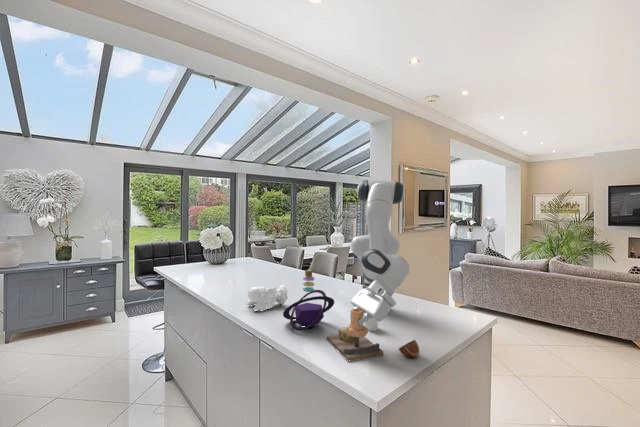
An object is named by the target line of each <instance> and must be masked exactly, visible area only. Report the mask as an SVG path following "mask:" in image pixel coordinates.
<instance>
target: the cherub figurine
mask: <svg viewBox="0 0 640 427" xmlns="http://www.w3.org/2000/svg"><path fill="white" fill-rule="evenodd" d="M247 297H248V299H249V301H248V302H247V303H246V306H247V305H252V306H253V305H254V304H256V305H255V306H253V309H252V311H253V310H264V309H269V310H270V308H271V309H272V308H273V306H275V303H278V304H280V305H281V304H282V305H284V304H285V303H286V301H287V300H288V290H287V287H286V286H285V285H284V284H281V285H280V286H279V287H278V288H276V286H272V287H268V288H266V286H252V287H251V288H250V289H249V290H248V292H247Z"/></svg>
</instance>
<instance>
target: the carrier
mask: <svg viewBox="0 0 640 427" xmlns="http://www.w3.org/2000/svg"><path fill="white" fill-rule="evenodd" d="M347 327H348V326H346V327H345V326H343V327H341V328H338V333H337V334H332V335H331V334H330V335H326V341H327V340H328V341H329V342H330V343H331V344H332V345H333V346H334V347H335V348H336V349H337V350H338V351H339V352H340V353H341V354H342V355H343V356H344V357H345V358H346V359H347V360H348V361H347V360H346V359H345V358H344V357H343V356H342V355H341V354H340V353H339V352H338V351H337V350H336V349H335V348H334V347H333V346H332V345H331V344H330V343H329V342H328V343H329V344H330V345H331V346H332V347H333V348H334V349H335V350H336V351H337V352H338V353H339V354H340V355H341V356H342V357H343V358H344V359H345V360H346V361H347V362H350V361H349V360H354V361H358V360H357V359H360V360H365V359H371V358H377V357H381V356H382V357H383V356H384V350H382V349H381V348H380V343H373V342H372V341H371V340H370V339H368V338H366V336H362V337H354V336H349V334H347Z"/></svg>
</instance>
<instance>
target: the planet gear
mask: <svg viewBox="0 0 640 427" xmlns="http://www.w3.org/2000/svg"><path fill="white" fill-rule="evenodd" d="M350 316H351V317H350V324H349V325H348V326H346V327H347V334H349V336H354V337H362V336H364V337H366V336H367V335H368V334H369V332H368V328H366V327H365V326H364V323H363V325H360V324H359V323H358V322H357V321H358V320H359V318H362V317H363V316H364V311H363V310H362V309H357V308H356V309H354V308H351V309H350Z"/></svg>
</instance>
